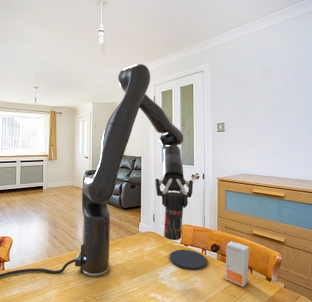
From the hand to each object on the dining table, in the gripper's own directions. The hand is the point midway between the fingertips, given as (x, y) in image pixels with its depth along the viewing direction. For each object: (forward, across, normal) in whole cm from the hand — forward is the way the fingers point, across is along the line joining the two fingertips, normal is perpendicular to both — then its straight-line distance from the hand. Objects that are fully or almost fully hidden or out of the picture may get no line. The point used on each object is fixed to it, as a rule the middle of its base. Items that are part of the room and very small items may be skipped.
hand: (175, 205), depth 76 cm
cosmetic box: (+18, +21, +16) cm, 32 cm away
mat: (+9, +7, +25) cm, 27 cm away
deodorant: (+7, 0, +9) cm, 12 cm away
